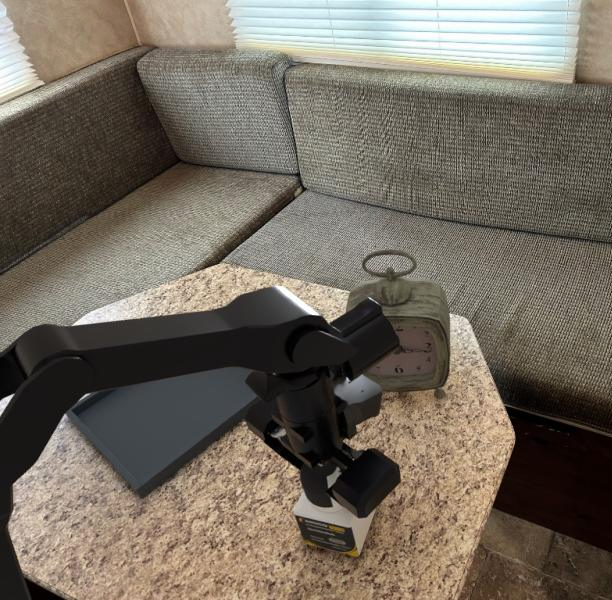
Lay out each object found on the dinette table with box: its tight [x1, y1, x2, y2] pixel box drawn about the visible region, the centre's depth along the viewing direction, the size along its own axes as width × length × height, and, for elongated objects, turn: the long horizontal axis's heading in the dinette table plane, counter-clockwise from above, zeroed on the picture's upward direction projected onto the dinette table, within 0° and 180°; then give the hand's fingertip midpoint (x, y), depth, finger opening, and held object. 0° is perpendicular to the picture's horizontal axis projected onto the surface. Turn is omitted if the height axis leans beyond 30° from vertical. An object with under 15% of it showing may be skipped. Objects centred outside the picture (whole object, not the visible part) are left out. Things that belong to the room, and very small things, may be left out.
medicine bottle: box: [293, 460, 378, 558], centre depth 71 cm, size 7×7×12 cm
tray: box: [64, 368, 260, 499], centre depth 92 cm, size 26×22×2 cm
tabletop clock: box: [344, 249, 451, 400], centre depth 83 cm, size 14×9×25 cm, turn 86°
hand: (331, 489), depth 70 cm, fingers closed on medicine bottle, 6 cm apart
